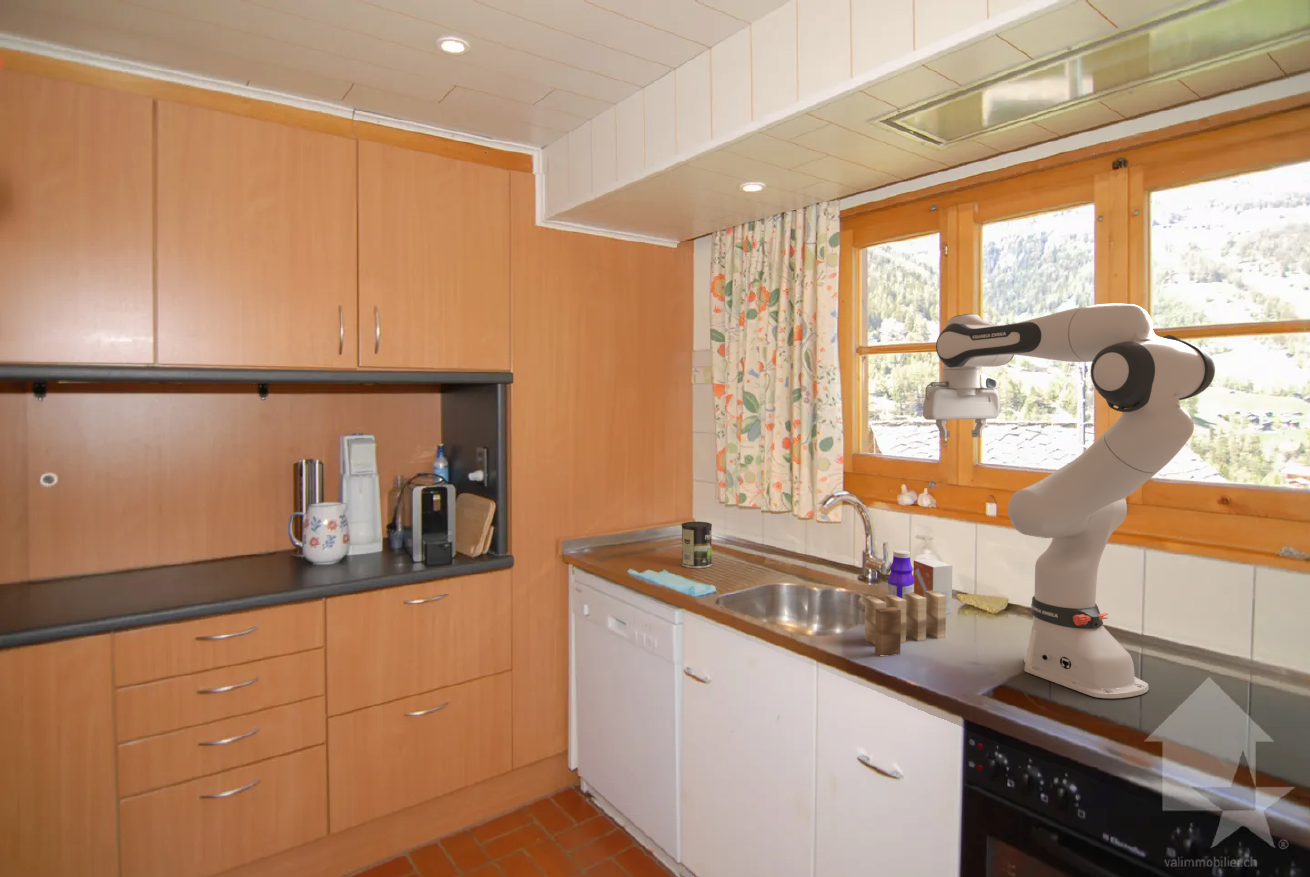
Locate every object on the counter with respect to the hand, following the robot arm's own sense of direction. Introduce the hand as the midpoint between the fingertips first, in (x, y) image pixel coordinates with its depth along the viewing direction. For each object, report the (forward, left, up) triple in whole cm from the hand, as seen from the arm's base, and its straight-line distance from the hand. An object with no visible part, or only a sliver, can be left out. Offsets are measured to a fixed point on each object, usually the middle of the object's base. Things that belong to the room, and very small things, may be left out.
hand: (960, 437), depth 172 cm
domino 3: (-12, +29, -47) cm, 56 cm away
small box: (+11, -1, -47) cm, 48 cm away
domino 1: (-5, +28, -47) cm, 55 cm away
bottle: (+8, +11, -47) cm, 49 cm away
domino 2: (-5, +22, -47) cm, 52 cm away
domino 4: (-5, +17, -47) cm, 50 cm away
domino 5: (-5, +11, -47) cm, 48 cm away
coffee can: (+77, +41, -47) cm, 99 cm away
